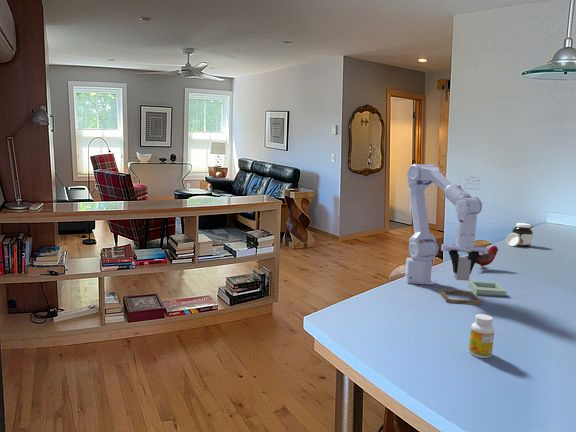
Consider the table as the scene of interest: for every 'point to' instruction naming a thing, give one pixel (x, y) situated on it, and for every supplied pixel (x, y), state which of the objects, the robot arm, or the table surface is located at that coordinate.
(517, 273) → the table surface
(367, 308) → the table surface
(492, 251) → the decorative bird figurine
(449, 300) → the walnut frame
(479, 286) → the sage tray
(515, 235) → the spread jar
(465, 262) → the stone block
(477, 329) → the supplement bottle
